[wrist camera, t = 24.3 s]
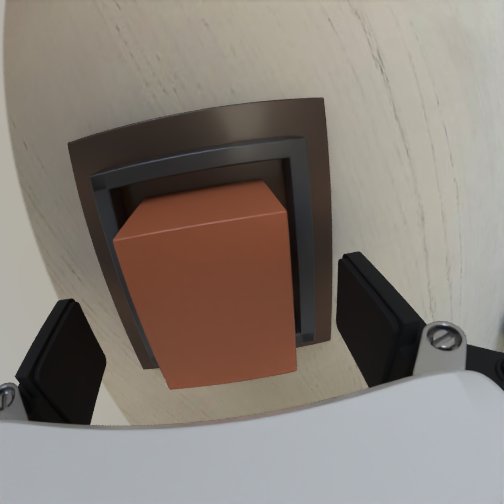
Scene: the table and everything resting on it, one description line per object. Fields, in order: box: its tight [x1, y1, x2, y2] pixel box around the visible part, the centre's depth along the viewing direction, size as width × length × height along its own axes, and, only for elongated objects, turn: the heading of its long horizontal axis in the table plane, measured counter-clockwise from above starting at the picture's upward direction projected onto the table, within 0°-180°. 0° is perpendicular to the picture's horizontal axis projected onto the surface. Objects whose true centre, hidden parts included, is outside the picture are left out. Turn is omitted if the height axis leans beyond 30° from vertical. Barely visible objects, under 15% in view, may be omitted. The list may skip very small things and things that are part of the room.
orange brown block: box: [113, 179, 297, 390], centre depth 13 cm, size 7×6×5 cm
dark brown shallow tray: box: [68, 98, 332, 369], centre depth 15 cm, size 14×12×2 cm
